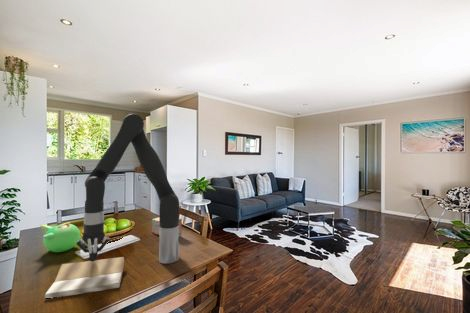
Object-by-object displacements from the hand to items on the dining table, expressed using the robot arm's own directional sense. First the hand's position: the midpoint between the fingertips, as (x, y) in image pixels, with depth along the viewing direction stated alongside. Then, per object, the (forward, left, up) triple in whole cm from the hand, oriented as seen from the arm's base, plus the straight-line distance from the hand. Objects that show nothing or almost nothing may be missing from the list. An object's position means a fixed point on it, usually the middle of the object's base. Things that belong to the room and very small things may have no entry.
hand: (93, 260), depth 99 cm
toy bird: (+22, -31, -6) cm, 38 cm away
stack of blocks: (-33, -39, -6) cm, 51 cm away
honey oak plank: (0, +2, -4) cm, 4 cm away
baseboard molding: (-2, -29, -7) cm, 30 cm away
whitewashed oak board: (0, +10, -6) cm, 12 cm away
